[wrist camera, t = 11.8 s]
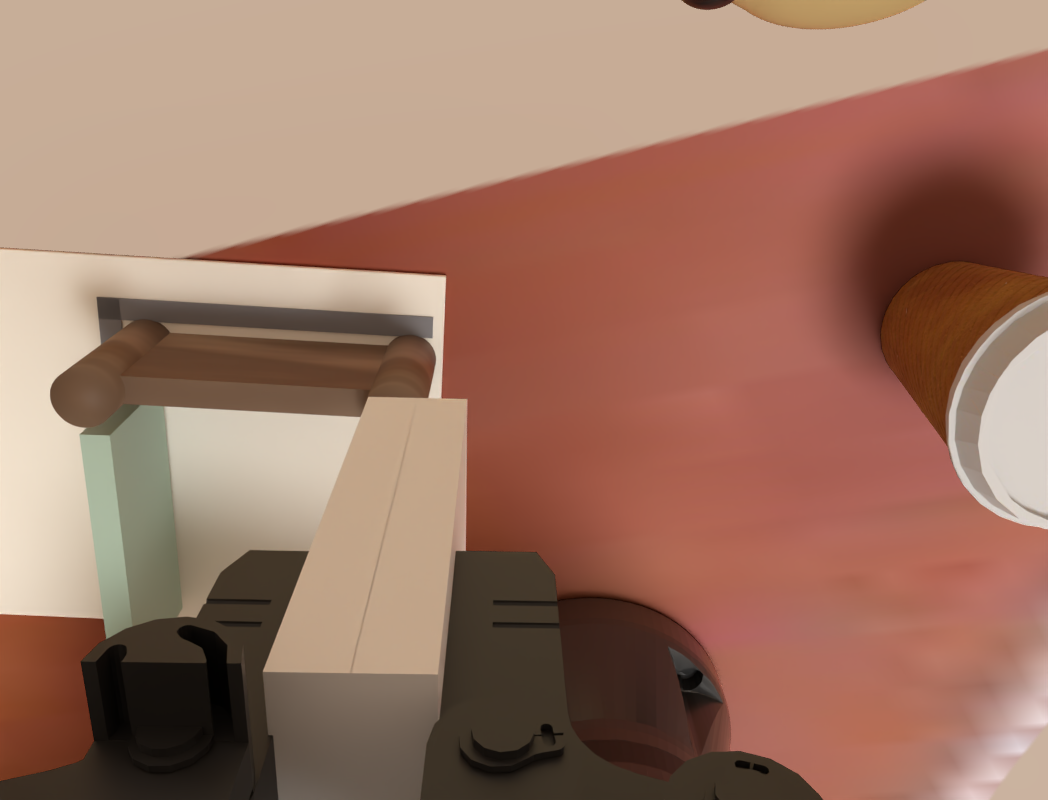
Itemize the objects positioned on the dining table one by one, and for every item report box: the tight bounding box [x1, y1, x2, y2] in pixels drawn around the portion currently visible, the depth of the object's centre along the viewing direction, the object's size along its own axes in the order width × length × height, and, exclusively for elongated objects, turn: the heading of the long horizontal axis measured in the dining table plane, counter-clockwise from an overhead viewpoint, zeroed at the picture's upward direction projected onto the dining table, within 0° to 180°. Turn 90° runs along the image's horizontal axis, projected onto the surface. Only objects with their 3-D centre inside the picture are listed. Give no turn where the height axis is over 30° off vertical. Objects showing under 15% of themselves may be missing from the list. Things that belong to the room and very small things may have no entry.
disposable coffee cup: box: [881, 261, 1048, 529], centre depth 38 cm, size 10×10×12 cm
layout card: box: [0, 248, 446, 619], centre depth 45 cm, size 19×30×1 cm, turn 86°
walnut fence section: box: [50, 319, 436, 428], centre depth 40 cm, size 2×14×8 cm, turn 86°
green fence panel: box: [79, 404, 183, 639], centre depth 42 cm, size 1×12×6 cm, turn 178°
